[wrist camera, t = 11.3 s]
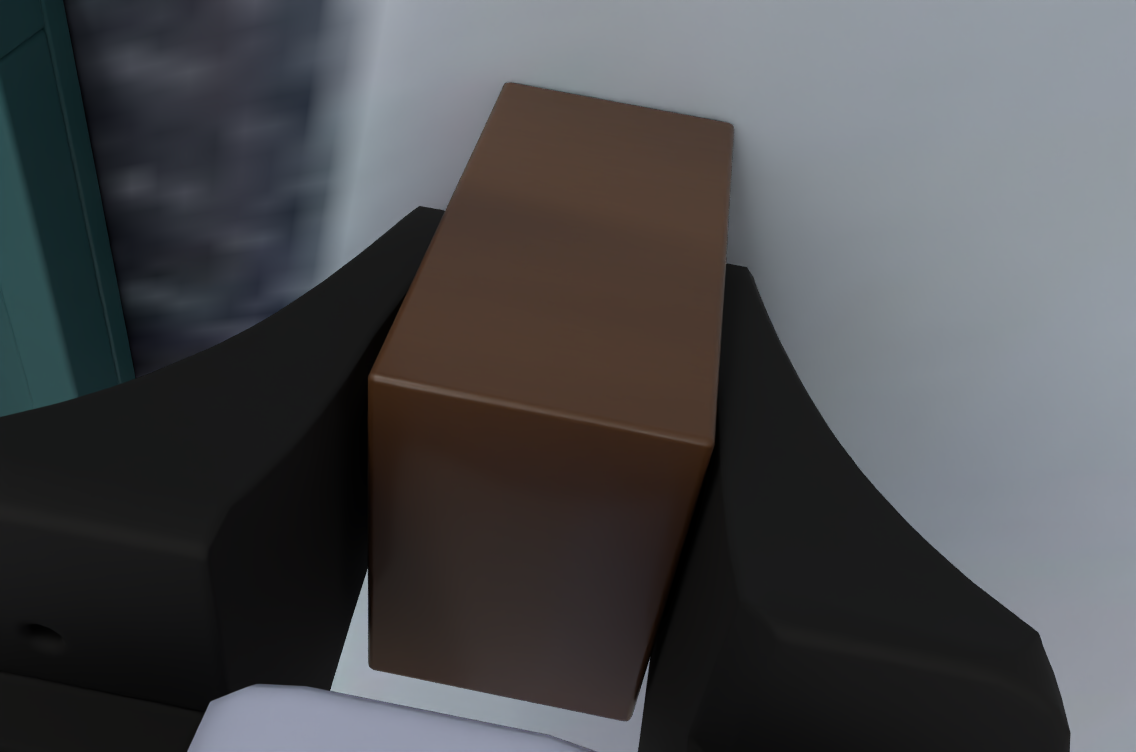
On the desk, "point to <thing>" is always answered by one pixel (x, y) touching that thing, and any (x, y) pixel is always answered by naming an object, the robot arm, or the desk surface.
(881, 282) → the desk surface
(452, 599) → the brown rectangular block
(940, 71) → the desk surface
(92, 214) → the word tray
